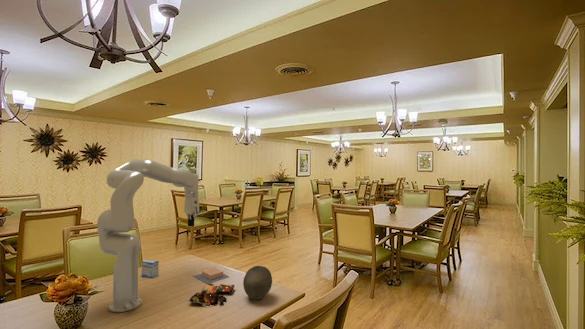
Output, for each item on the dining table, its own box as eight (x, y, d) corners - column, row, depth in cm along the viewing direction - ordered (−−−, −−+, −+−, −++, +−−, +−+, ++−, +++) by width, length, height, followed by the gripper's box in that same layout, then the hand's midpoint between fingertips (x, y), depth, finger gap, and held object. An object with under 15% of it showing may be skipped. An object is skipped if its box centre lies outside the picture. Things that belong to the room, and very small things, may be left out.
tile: (214, 272, 171) (222, 276, 165) (201, 276, 165) (210, 280, 159) (214, 267, 171) (223, 271, 165) (201, 271, 165) (210, 275, 159)
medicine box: (141, 276, 163) (141, 261, 163) (147, 274, 168) (147, 259, 168) (152, 278, 161) (152, 262, 161) (158, 275, 165) (158, 260, 165)
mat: (229, 276, 165) (229, 276, 165) (207, 283, 155) (207, 283, 155) (214, 270, 175) (214, 269, 175) (193, 276, 165) (193, 275, 165)
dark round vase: (236, 299, 137) (236, 267, 137) (256, 289, 148) (257, 260, 149) (258, 308, 129) (259, 274, 129) (278, 297, 140) (279, 265, 140)
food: (223, 309, 128) (223, 301, 128) (182, 307, 130) (182, 299, 131) (238, 288, 150) (237, 282, 150) (203, 287, 152) (203, 280, 152)
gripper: (203, 195, 169) (203, 227, 169) (191, 193, 179) (190, 223, 179) (191, 196, 164) (191, 229, 164) (179, 194, 174) (179, 225, 174)
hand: (191, 225), depth 171 cm, fingers closed
